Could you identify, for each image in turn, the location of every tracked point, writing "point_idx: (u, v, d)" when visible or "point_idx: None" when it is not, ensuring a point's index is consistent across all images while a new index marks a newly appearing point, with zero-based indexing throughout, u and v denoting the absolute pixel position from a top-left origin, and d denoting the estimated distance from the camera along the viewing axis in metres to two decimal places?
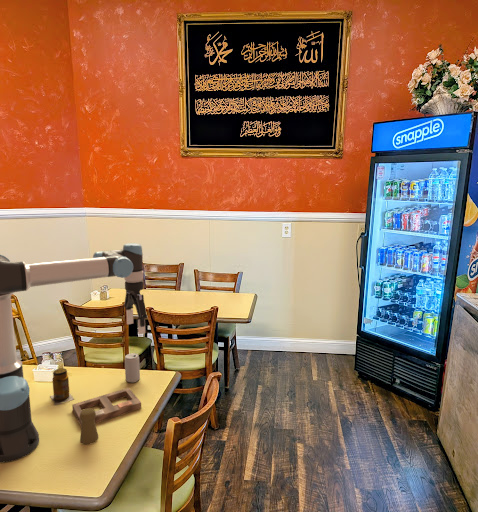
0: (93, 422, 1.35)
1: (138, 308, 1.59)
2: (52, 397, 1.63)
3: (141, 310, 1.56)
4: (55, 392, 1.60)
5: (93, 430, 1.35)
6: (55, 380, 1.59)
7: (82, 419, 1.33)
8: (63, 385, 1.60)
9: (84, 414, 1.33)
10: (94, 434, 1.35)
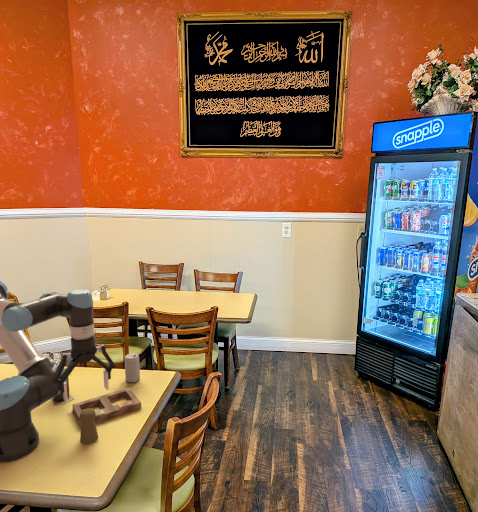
0: (93, 422, 1.35)
1: (66, 369, 1.29)
2: None
3: (56, 371, 1.27)
4: None
5: (93, 430, 1.35)
6: None
7: (82, 419, 1.33)
8: None
9: (84, 414, 1.33)
10: (94, 434, 1.35)
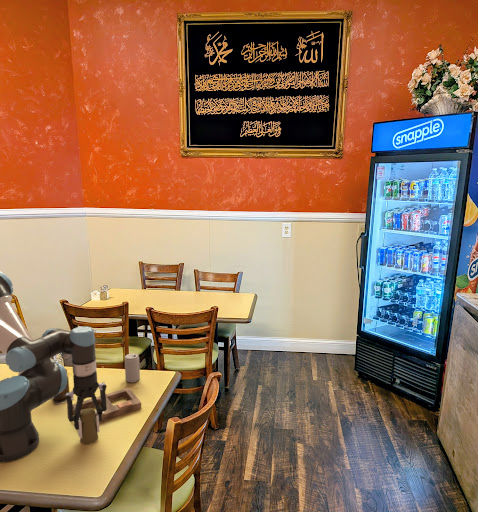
0: (93, 422, 1.35)
1: (76, 406, 1.33)
2: None
3: (67, 410, 1.31)
4: None
5: (93, 430, 1.35)
6: None
7: (82, 419, 1.33)
8: None
9: (84, 414, 1.33)
10: (94, 434, 1.35)
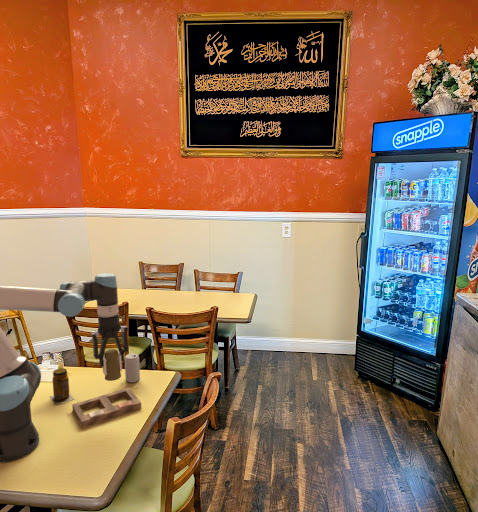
0: (116, 361, 1.48)
1: (101, 346, 1.46)
2: (52, 397, 1.63)
3: (93, 349, 1.45)
4: (55, 392, 1.60)
5: (116, 368, 1.48)
6: (55, 380, 1.59)
7: (106, 357, 1.46)
8: (63, 385, 1.60)
9: (108, 352, 1.46)
10: (117, 371, 1.48)
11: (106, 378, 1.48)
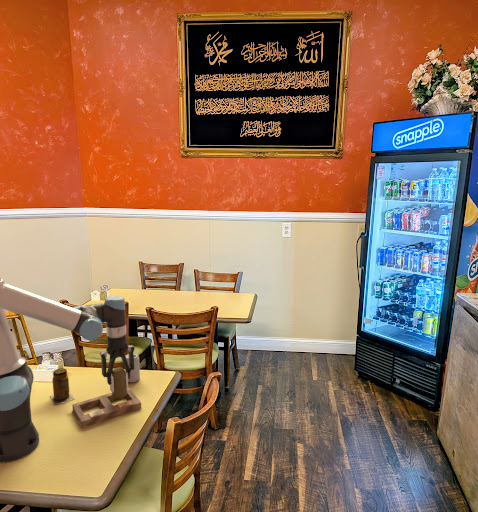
0: (123, 379, 1.56)
1: (109, 364, 1.54)
2: (52, 397, 1.63)
3: (102, 367, 1.53)
4: (55, 392, 1.60)
5: (123, 385, 1.56)
6: (55, 380, 1.59)
7: (114, 375, 1.54)
8: (63, 385, 1.60)
9: (115, 371, 1.54)
10: (124, 389, 1.56)
11: (113, 395, 1.56)
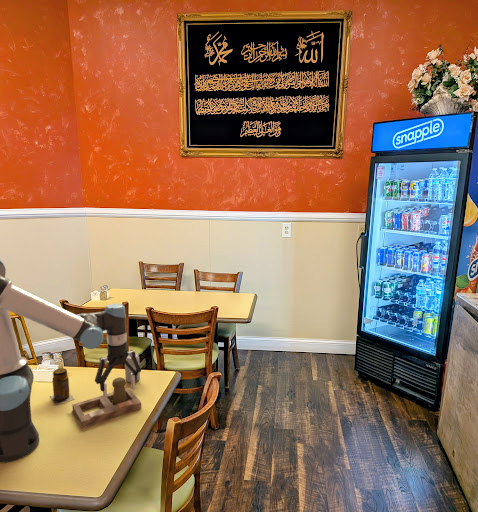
0: (123, 389, 1.57)
1: (105, 371, 1.54)
2: (52, 397, 1.63)
3: (97, 373, 1.52)
4: (55, 392, 1.60)
5: (124, 395, 1.57)
6: (55, 380, 1.59)
7: (114, 386, 1.55)
8: (63, 385, 1.60)
9: (116, 381, 1.55)
10: (124, 399, 1.57)
11: None
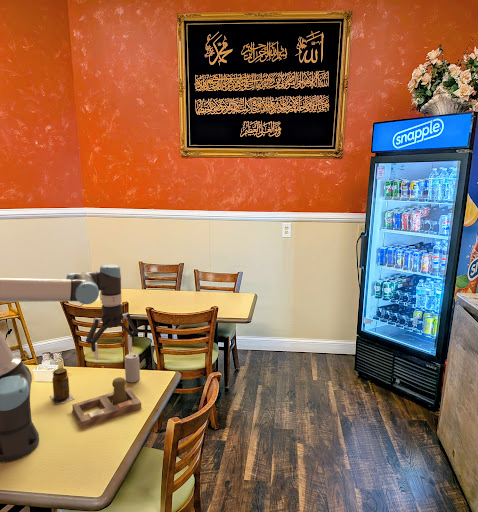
0: (123, 389, 1.57)
1: (97, 331, 1.51)
2: (52, 397, 1.63)
3: (89, 333, 1.49)
4: (55, 392, 1.60)
5: (124, 395, 1.57)
6: (55, 380, 1.59)
7: (115, 386, 1.55)
8: (63, 385, 1.60)
9: (116, 381, 1.55)
10: (124, 399, 1.57)
11: None
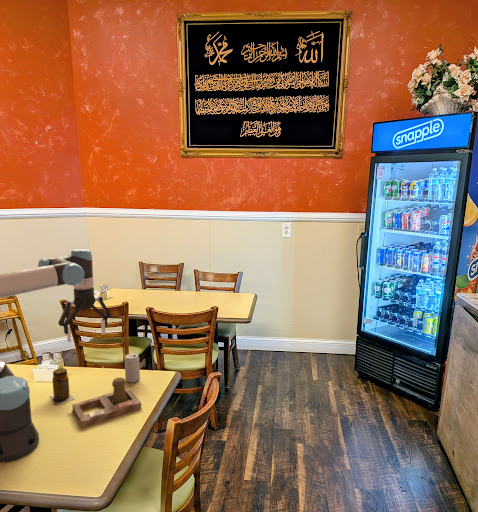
0: (123, 389, 1.57)
1: (70, 314, 1.54)
2: (52, 397, 1.63)
3: (61, 316, 1.52)
4: (55, 392, 1.60)
5: (124, 395, 1.57)
6: (55, 380, 1.59)
7: (115, 386, 1.55)
8: (63, 385, 1.60)
9: (116, 381, 1.55)
10: (124, 399, 1.57)
11: None
